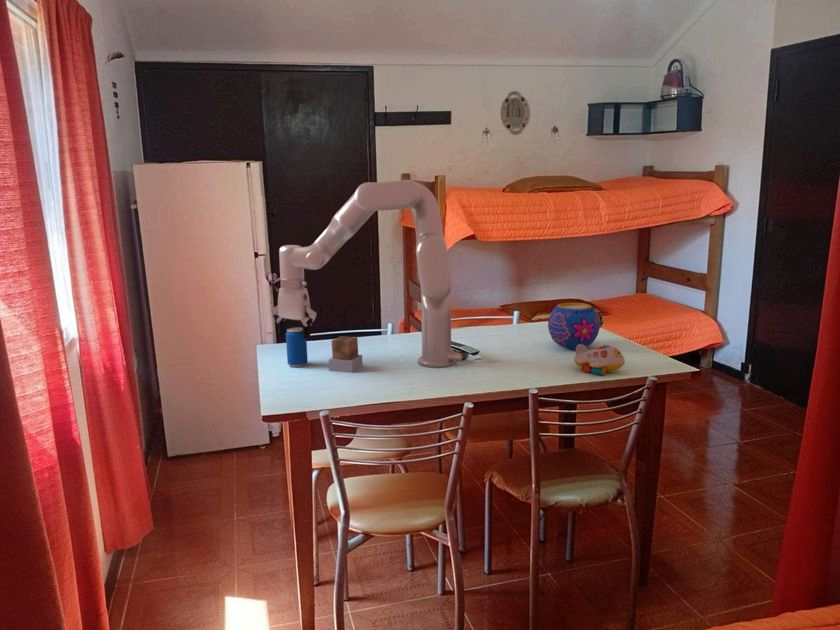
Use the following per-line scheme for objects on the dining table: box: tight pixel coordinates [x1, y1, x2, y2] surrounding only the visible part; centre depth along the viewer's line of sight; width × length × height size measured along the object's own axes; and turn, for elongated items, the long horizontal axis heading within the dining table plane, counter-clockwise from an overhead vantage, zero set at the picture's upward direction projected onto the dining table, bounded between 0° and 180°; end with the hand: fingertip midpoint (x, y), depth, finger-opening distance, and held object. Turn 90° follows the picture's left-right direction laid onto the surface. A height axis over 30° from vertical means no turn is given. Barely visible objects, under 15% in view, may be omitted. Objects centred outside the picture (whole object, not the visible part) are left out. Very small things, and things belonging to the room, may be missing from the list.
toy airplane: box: [573, 344, 626, 376], centre depth 205 cm, size 13×9×15 cm
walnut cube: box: [331, 335, 359, 360], centre depth 213 cm, size 6×6×6 cm
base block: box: [328, 354, 364, 374], centre depth 214 cm, size 8×8×4 cm
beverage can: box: [285, 326, 309, 368], centre depth 218 cm, size 6×6×12 cm
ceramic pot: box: [547, 302, 604, 350], centre depth 233 cm, size 18×18×15 cm
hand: (294, 336), depth 218 cm, fingers open, 9 cm apart
